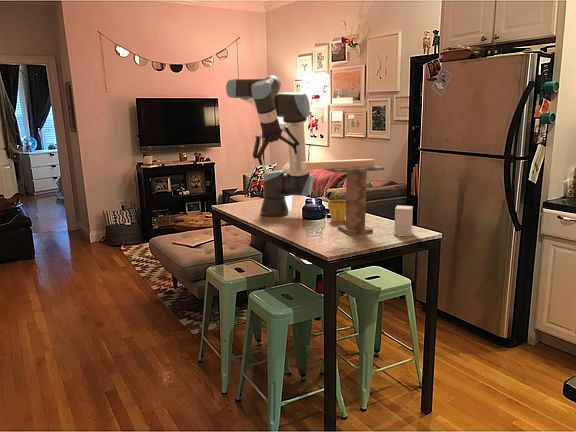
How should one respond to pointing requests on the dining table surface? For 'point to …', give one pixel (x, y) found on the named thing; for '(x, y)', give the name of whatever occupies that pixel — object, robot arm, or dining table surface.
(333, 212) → the plant pot
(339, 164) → the tan rectangular bar
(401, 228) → the supplement box
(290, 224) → the dining table surface
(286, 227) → the dining table surface
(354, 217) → the shelf stand
